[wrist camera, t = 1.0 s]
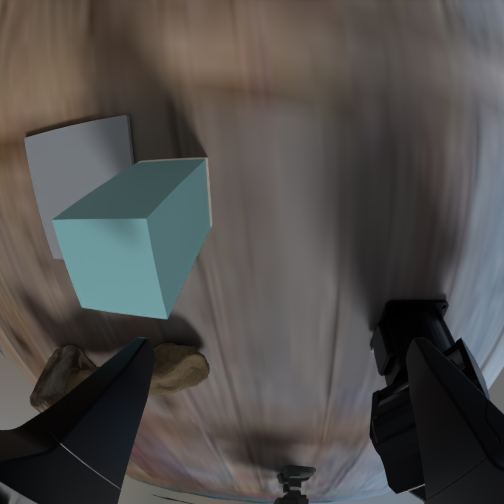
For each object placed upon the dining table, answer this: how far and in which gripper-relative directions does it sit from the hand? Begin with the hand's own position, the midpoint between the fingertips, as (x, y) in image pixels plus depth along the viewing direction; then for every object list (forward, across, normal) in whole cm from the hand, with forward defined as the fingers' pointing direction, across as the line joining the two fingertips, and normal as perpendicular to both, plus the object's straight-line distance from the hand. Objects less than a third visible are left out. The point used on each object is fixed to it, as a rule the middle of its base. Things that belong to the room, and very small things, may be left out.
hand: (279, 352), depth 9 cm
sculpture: (+13, +18, +18) cm, 29 cm away
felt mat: (+13, +16, -2) cm, 21 cm away
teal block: (+13, +8, -1) cm, 15 cm away
